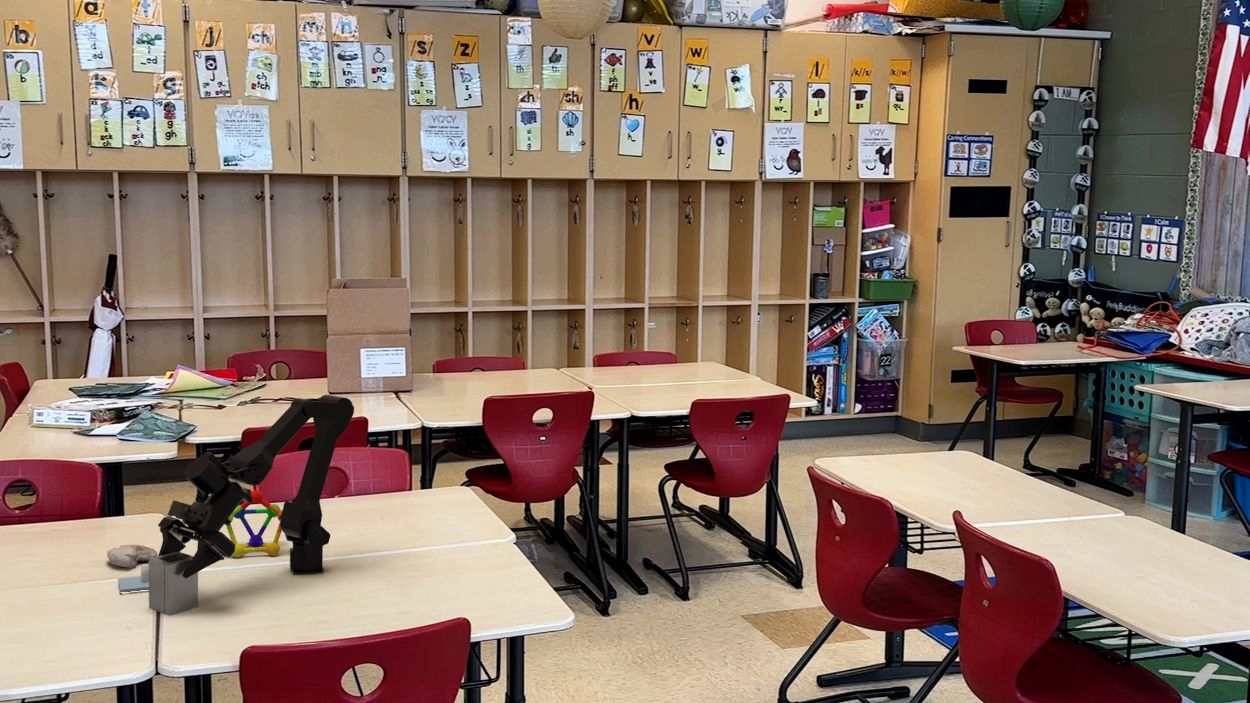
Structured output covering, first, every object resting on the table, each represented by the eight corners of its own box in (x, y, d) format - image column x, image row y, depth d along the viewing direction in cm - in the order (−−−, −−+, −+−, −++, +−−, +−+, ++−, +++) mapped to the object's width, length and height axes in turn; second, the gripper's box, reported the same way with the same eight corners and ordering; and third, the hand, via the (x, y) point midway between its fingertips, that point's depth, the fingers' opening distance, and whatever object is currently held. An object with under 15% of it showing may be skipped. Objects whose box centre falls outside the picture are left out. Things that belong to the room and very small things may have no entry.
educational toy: (277, 545, 279) (284, 483, 278) (288, 560, 268) (295, 496, 267) (209, 545, 272) (216, 482, 271) (218, 561, 261) (224, 495, 260)
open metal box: (178, 599, 236) (178, 551, 235) (198, 606, 232) (198, 557, 231) (148, 607, 231) (148, 558, 229) (168, 615, 227) (167, 565, 226)
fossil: (124, 536, 265) (165, 542, 264) (122, 554, 265) (164, 560, 264) (94, 548, 253) (137, 554, 252) (92, 567, 253) (136, 573, 252)
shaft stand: (169, 577, 249) (169, 557, 249) (172, 589, 242) (172, 568, 242) (118, 582, 245) (117, 562, 244) (120, 594, 238) (120, 573, 237)
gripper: (166, 477, 238) (116, 540, 230) (222, 492, 227) (171, 559, 219) (200, 508, 245) (152, 571, 237) (256, 524, 234) (208, 590, 227)
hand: (170, 572), depth 230 cm, fingers open, 9 cm apart
